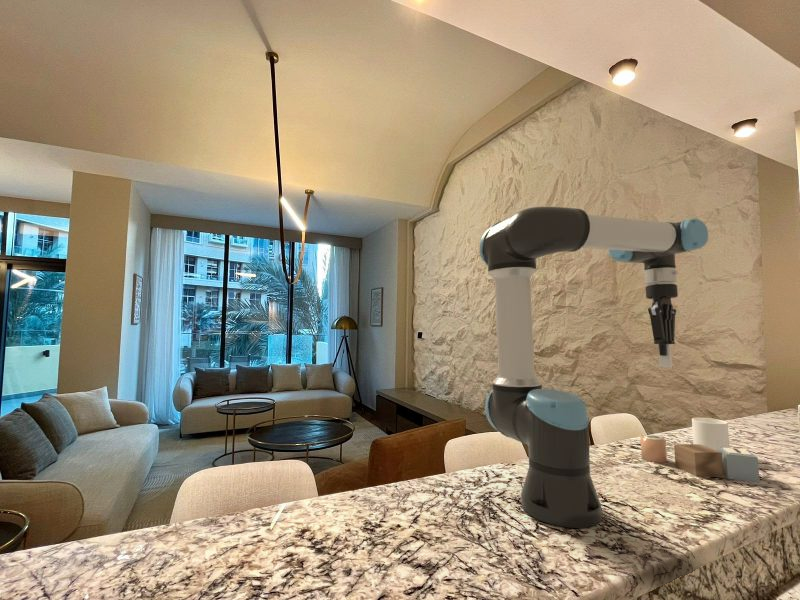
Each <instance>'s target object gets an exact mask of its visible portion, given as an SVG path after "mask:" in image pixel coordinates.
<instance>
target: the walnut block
mask: <svg viewBox="0 0 800 600" xmlns="http://www.w3.org/2000/svg"><path fill="white" fill-rule="evenodd" d="M673 448H674V450H673V451H674V463H675V464H674V466H675V468H677V467H678V468H677V469H679V468H680V469H679V470H681V469H682V470H681V471H683V470H684V471H683V472H685V471H686V472H685V473H687V472H688V474H689V473H690V474H689V475H692V476H693V477H696V478H699V477H703V478H705V477H707V478H709V477H710V478H712V477H714V478H716V477H717V476H719V477H720V476H721V477H722V476H724V474H723V462H722V452H719V451H716V450H714V449H711V448H708V447H705V446H703V445H700V444H692V443H691V444H690V443H689V444H684V443H683V444H682V443H681V444H676V443H675V444H673ZM715 476H716V477H715Z"/></svg>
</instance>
